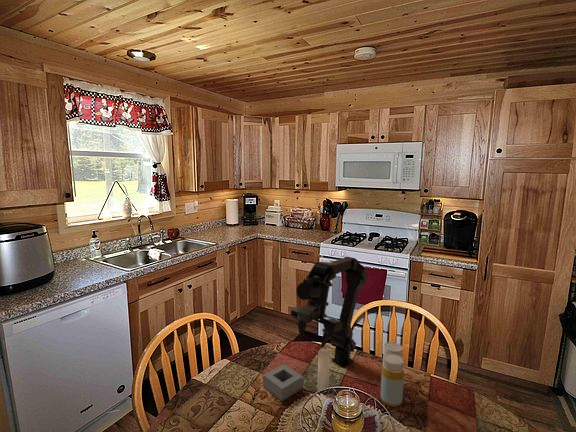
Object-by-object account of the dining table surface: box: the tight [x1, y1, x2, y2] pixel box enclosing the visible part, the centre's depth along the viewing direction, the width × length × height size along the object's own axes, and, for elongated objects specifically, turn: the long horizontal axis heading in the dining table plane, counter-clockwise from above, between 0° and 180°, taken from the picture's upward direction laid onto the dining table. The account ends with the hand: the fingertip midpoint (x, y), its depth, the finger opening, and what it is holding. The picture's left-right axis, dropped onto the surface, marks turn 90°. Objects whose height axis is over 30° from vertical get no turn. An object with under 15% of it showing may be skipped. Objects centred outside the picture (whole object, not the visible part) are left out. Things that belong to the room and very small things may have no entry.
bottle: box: [380, 354, 405, 408], centre depth 106 cm, size 7×7×15 cm
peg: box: [316, 348, 331, 392], centre depth 111 cm, size 4×4×14 cm
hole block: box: [262, 363, 304, 402], centre depth 112 cm, size 10×10×5 cm
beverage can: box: [381, 341, 404, 370], centre depth 114 cm, size 6×7×15 cm
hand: (311, 342), depth 111 cm, fingers open, 9 cm apart
